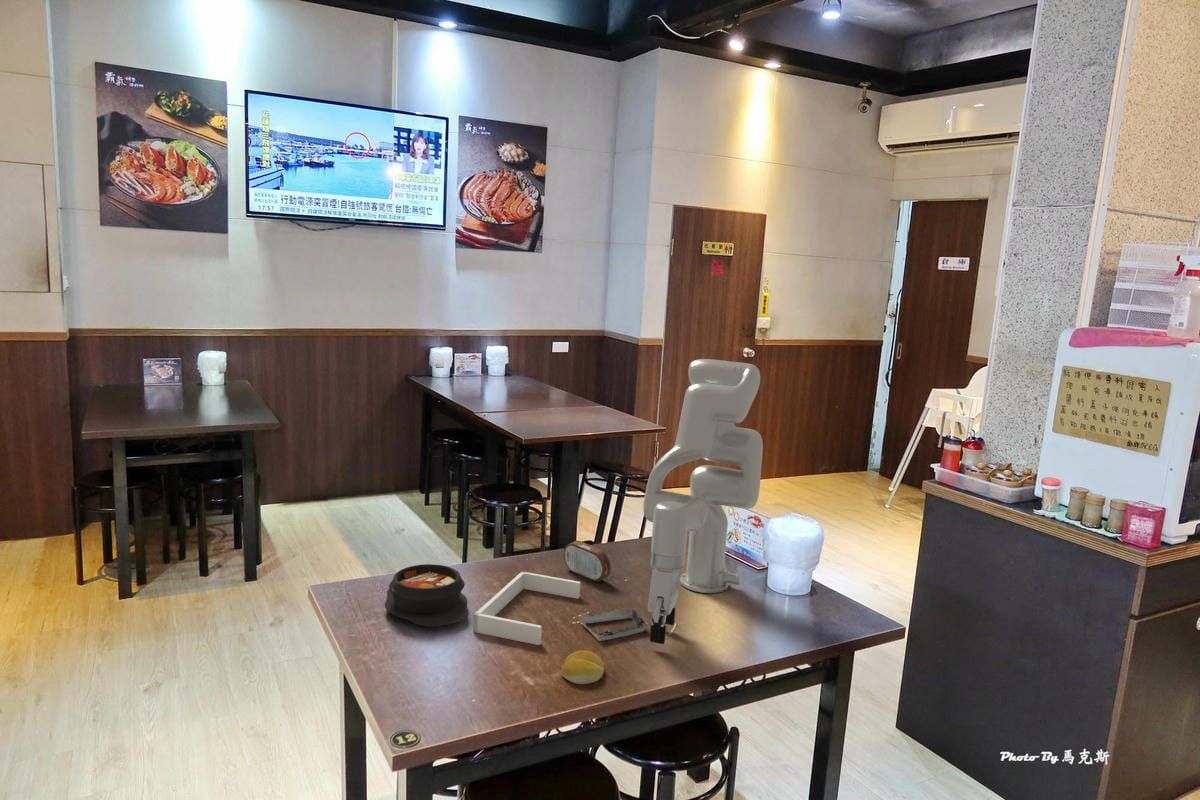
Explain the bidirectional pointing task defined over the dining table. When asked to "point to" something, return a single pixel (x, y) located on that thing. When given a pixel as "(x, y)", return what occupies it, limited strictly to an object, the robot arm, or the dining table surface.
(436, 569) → the casserole
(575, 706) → the dining table surface
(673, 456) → the robot arm
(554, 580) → the box
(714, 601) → the dining table surface
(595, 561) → the tin
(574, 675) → the bread roll
